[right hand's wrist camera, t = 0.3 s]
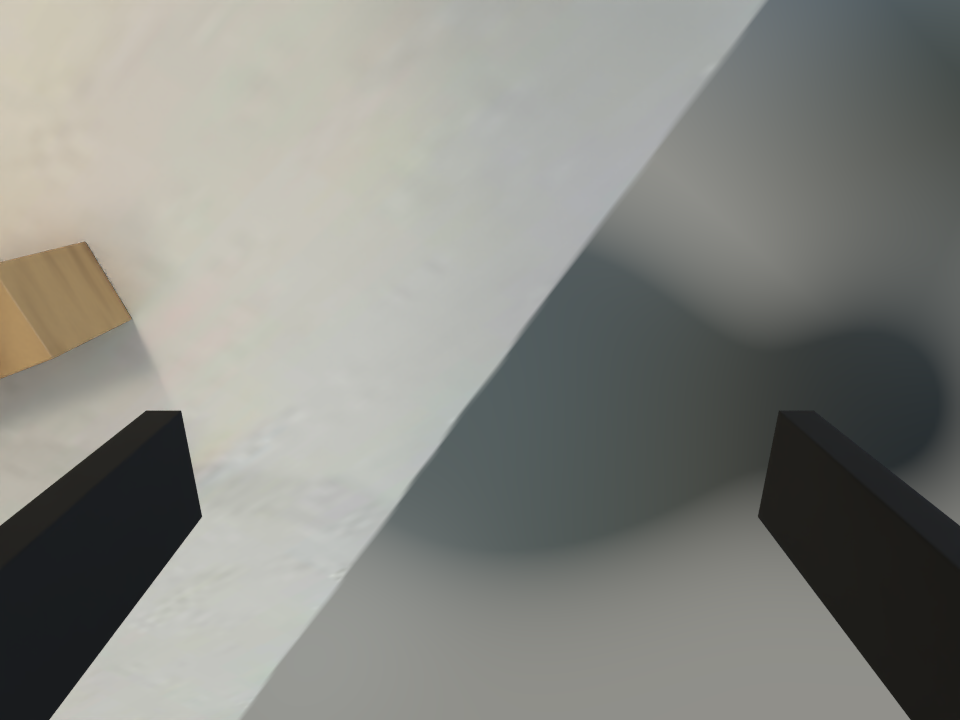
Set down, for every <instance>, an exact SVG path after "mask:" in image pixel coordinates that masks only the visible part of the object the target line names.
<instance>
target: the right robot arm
mask: <svg viewBox="0 0 960 720" xmlns="http://www.w3.org/2000/svg"><path fill="white" fill-rule="evenodd" d="M201 517H202V514H201V509H200V504H199V499H198V494H197V489H196V484H195V479H194V474H193V468H192V463H191V458H190V453H189V448H188V443H187V438H186V433H185V428H184V423H183V418H182V413H181V411H145V412H144V413H143V414H141V415H140V416H139V417H138V418H136V419H135V420H134V421H133V422H131V423H130V424H129V425H127V426H126V427H125V428H124V429H122V430H121V431H120V432H119V433H117V434H116V435H115V436H114V437H112V438H111V439H110V440H108V441H107V442H106V443H105V444H103V445H102V446H101V447H100V448H98V449H97V450H96V451H95V452H93V453H92V454H91V455H89V456H88V457H87V458H86V459H84V460H83V461H82V462H81V463H79V464H78V465H77V466H75V467H74V468H73V469H72V470H70V471H69V472H68V473H67V474H65V475H64V476H63V477H62V478H60V479H59V480H58V481H56V482H55V483H54V484H53V485H51V486H50V487H49V488H48V489H46V490H45V491H44V492H43V493H41V494H40V495H39V496H37V497H36V498H35V499H34V500H32V501H31V502H30V503H29V504H27V505H26V506H25V507H23V508H22V509H21V510H20V511H18V512H17V513H16V514H15V515H13V516H12V517H11V518H10V519H8V520H7V521H6V522H4V523H3V524H2V525H1V526H0V720H49V719H50V718H51V717H52V715H53V714H54V713H55V711H56V710H57V709H58V707H59V706H60V705H61V703H62V702H63V701H64V699H65V698H66V697H67V695H68V694H69V693H70V691H71V690H72V689H73V687H74V686H75V685H76V684H77V682H78V681H79V680H80V678H81V677H82V676H83V674H84V673H85V672H86V670H87V669H88V668H89V666H90V665H91V664H92V662H93V661H94V660H95V658H96V657H97V656H98V654H99V653H100V652H101V650H102V649H103V648H104V646H105V645H106V644H107V642H108V641H109V640H110V638H111V637H112V636H113V634H114V633H115V632H116V630H117V629H118V628H119V626H120V625H121V624H122V622H123V621H124V620H125V618H126V617H127V616H128V614H129V613H130V612H131V610H132V609H133V608H134V606H135V605H136V604H137V602H138V601H139V600H140V598H141V597H142V596H143V595H144V593H145V592H146V591H147V589H148V588H149V587H150V585H151V584H152V583H153V581H154V580H155V579H156V577H157V576H158V575H159V573H160V572H161V571H162V569H163V568H164V567H165V565H166V564H167V563H168V561H169V560H170V559H171V557H172V556H173V555H174V553H175V552H176V551H177V549H178V548H179V547H180V545H181V544H182V543H183V541H184V540H185V539H186V537H187V536H188V535H189V533H190V532H191V531H192V529H193V528H194V527H195V525H196V524H197V523H198V521H199V520H200V519H201ZM758 517H759V519H760V520H761V521H762V523H763V524H764V525H765V527H766V528H767V529H768V531H769V532H770V533H771V535H772V536H773V537H774V539H775V540H776V541H777V543H778V544H779V545H780V547H781V548H782V549H783V551H784V552H785V553H786V555H787V556H788V557H789V559H790V560H791V561H792V563H793V564H794V565H795V567H796V568H797V569H798V571H799V572H800V573H801V575H802V576H803V577H804V579H805V580H806V581H807V583H808V584H809V585H810V587H811V588H812V589H813V590H814V592H815V593H816V595H817V596H818V597H819V598H820V600H821V601H822V602H823V604H824V605H825V606H826V608H827V609H828V610H829V612H830V613H831V614H832V616H833V617H834V618H835V620H836V621H837V622H838V624H839V625H840V626H841V628H842V629H843V630H844V632H845V633H846V634H847V636H848V637H849V638H850V640H851V641H852V642H853V644H854V645H855V646H856V648H857V649H858V650H859V652H860V653H861V654H862V656H863V657H864V658H865V660H866V661H867V662H868V664H869V665H870V666H871V668H872V669H873V670H874V672H875V673H876V674H877V676H878V677H879V678H880V679H881V681H882V682H883V683H884V685H885V686H886V687H887V689H888V690H889V691H890V693H891V694H892V695H893V697H894V698H895V699H896V701H897V702H898V703H899V705H900V706H901V707H902V709H903V710H904V711H905V713H906V714H907V715H908V717H909V718H910V719H911V720H960V526H959V525H958V524H957V523H956V522H954V521H953V520H952V519H950V518H949V517H948V516H947V515H945V514H944V513H943V512H942V511H940V510H939V509H938V508H936V507H935V506H934V505H933V504H931V503H930V502H929V501H928V500H926V499H925V498H924V497H923V496H921V495H920V494H919V493H917V492H916V491H915V490H914V489H912V488H911V487H910V486H909V485H907V484H906V483H905V482H904V481H902V480H901V479H900V478H898V477H897V476H896V475H895V474H893V473H892V472H891V471H890V470H888V469H887V468H886V467H884V466H883V465H882V464H881V463H879V462H878V461H877V460H876V459H874V458H873V457H872V456H871V455H869V454H868V453H867V452H865V451H864V450H863V449H862V448H860V447H859V446H858V445H857V444H855V443H854V442H853V441H852V440H850V439H849V438H848V437H846V436H845V435H844V434H843V433H841V432H840V431H839V430H838V429H836V428H835V427H834V426H832V425H831V424H830V423H829V422H827V421H826V420H825V419H824V418H822V417H821V416H820V415H818V414H817V413H816V412H815V411H779V413H778V418H777V423H776V428H775V433H774V438H773V443H772V448H771V453H770V459H769V463H768V469H767V474H766V479H765V484H764V489H763V494H762V499H761V504H760V509H759V514H758Z"/></svg>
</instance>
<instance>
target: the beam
mask: <svg viewBox="0 0 960 720" xmlns="http://www.w3.org/2000/svg"><path fill="white" fill-rule="evenodd" d="M129 320H131V317H130V315H129V314H128V312H127V310H126V309H125V307H124V305H123V304H122V302H121V300H120V299H119V297H118V295H117V294H116V292H115V290H114V289H113V287H112V285H111V284H110V282H109V280H108V279H107V277H106V275H105V274H104V272H103V270H102V269H101V267H100V265H99V264H98V262H97V260H96V259H95V257H94V255H93V254H92V252H91V251H90V249H89V247H88V246H87V244H86V242H82V243H78V244H73V245H69V246H65V247H61V248H57V249H53V250H49V251H45V252H40V253H36V254H32V255H28V256H24V257H20V258H16V259H12V260H7V261H3V262H0V379H1V378H4V377H6V376H9V375H12V374H14V373H17V372H19V371H22V370H25V369H27V368H30V367H32V366H35V365H38V364H40V363H43V362H46V361H48V360H51V359H53V358H55V357H57V356H59V355H61V354H63V353H65V352H67V351H69V350H71V349H73V348H75V347H77V346H79V345H81V344H83V343H85V342H87V341H89V340H91V339H93V338H95V337H97V336H99V335H101V334H103V333H105V332H107V331H109V330H111V329H113V328H115V327H117V326H119V325H121V324H123V323H125V322H127V321H129Z"/></svg>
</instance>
